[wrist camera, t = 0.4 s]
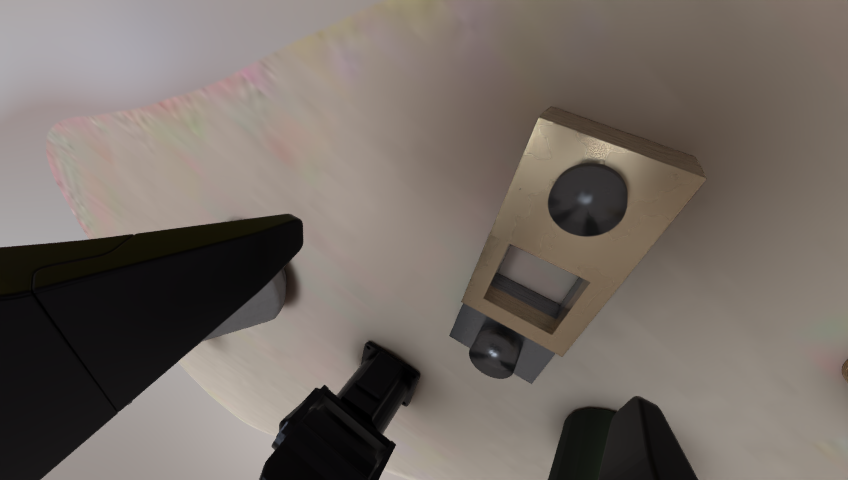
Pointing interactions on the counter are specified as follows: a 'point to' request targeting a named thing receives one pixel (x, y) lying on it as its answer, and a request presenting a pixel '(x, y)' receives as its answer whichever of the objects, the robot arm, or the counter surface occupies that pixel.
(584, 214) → the knobbed window plate
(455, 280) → the counter surface
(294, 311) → the counter surface
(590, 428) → the potion bottle
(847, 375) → the pin
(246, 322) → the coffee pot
